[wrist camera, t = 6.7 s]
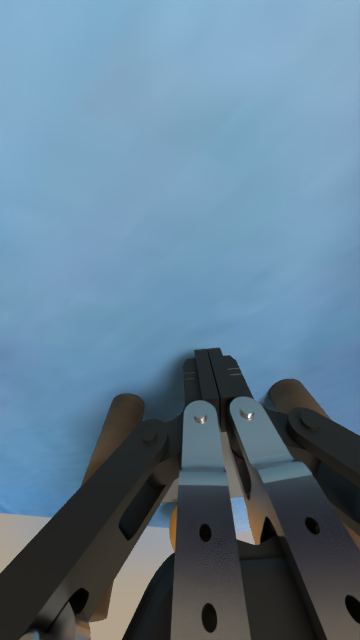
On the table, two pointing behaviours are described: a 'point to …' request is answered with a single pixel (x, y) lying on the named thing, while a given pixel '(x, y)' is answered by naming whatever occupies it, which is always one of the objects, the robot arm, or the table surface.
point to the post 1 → (115, 430)
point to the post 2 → (296, 395)
